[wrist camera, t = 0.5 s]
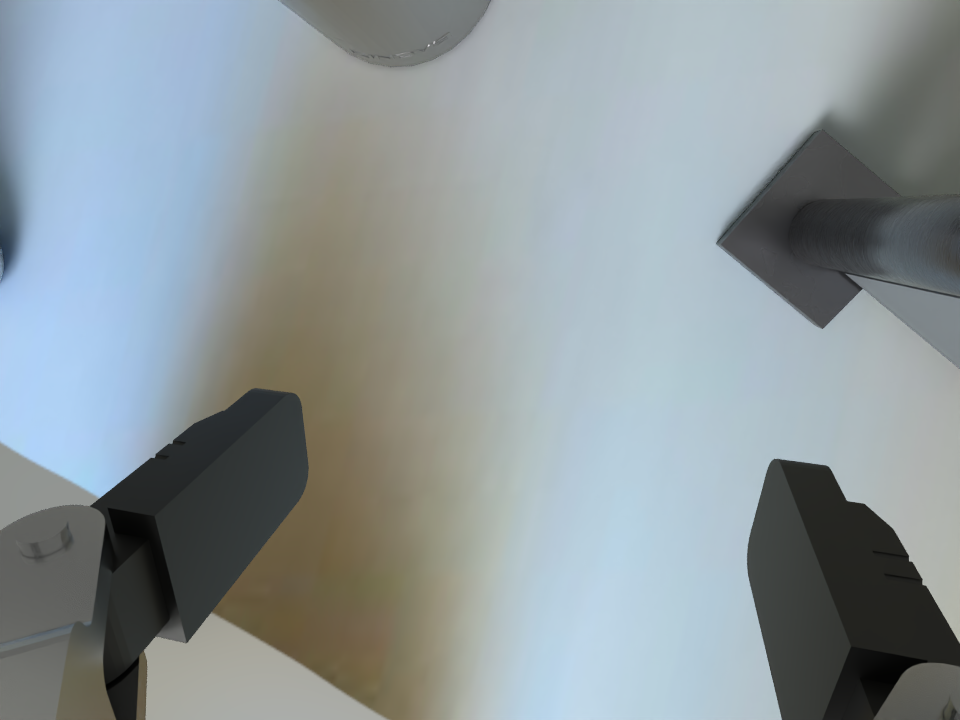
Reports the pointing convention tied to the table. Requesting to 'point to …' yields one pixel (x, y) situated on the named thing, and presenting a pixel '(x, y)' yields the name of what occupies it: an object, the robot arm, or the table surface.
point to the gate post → (843, 233)
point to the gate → (920, 312)
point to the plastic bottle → (1, 263)
